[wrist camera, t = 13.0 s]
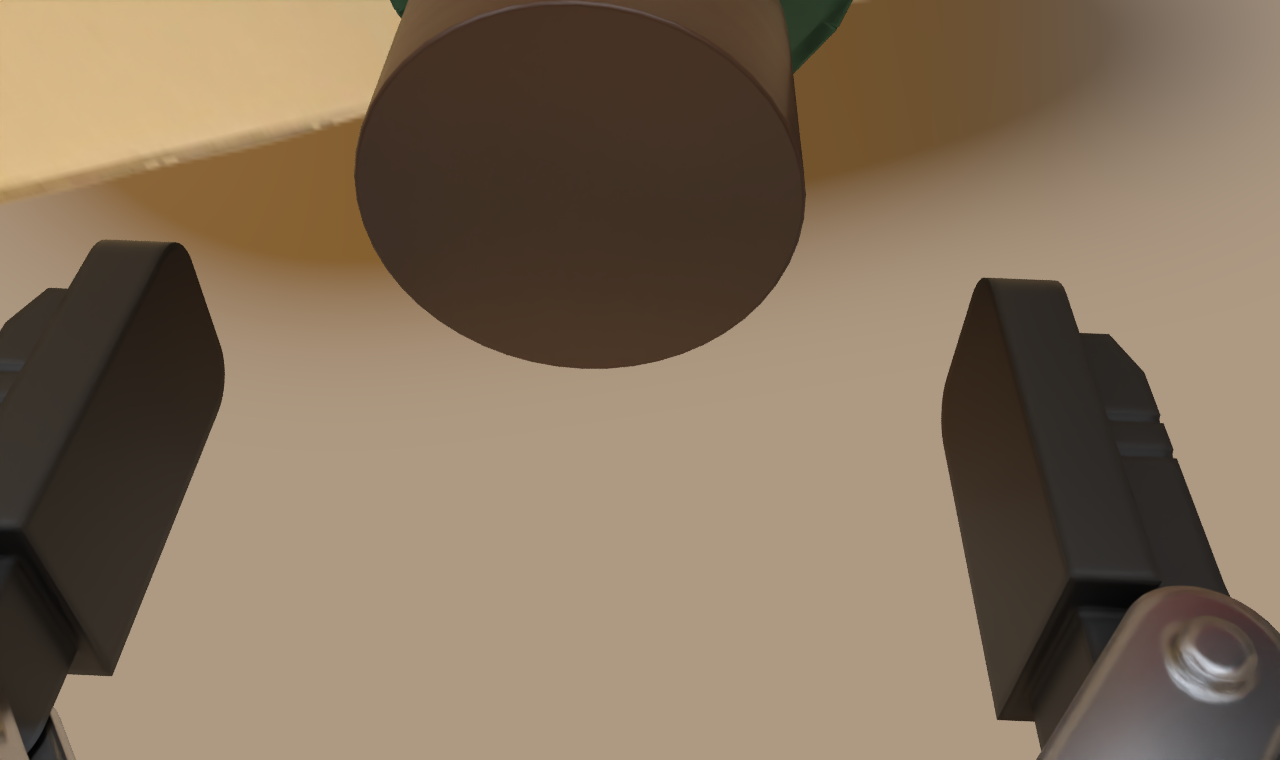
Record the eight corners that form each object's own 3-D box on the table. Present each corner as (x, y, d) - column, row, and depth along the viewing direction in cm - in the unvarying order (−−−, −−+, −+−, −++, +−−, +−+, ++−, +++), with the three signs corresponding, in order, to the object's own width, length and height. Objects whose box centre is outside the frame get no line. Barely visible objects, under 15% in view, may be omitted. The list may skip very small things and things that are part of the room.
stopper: (424, -228, 16) (316, -8, 11) (797, -213, 16) (837, 12, 11) (458, 99, 20) (386, 361, 15) (760, 112, 20) (779, 378, 15)
